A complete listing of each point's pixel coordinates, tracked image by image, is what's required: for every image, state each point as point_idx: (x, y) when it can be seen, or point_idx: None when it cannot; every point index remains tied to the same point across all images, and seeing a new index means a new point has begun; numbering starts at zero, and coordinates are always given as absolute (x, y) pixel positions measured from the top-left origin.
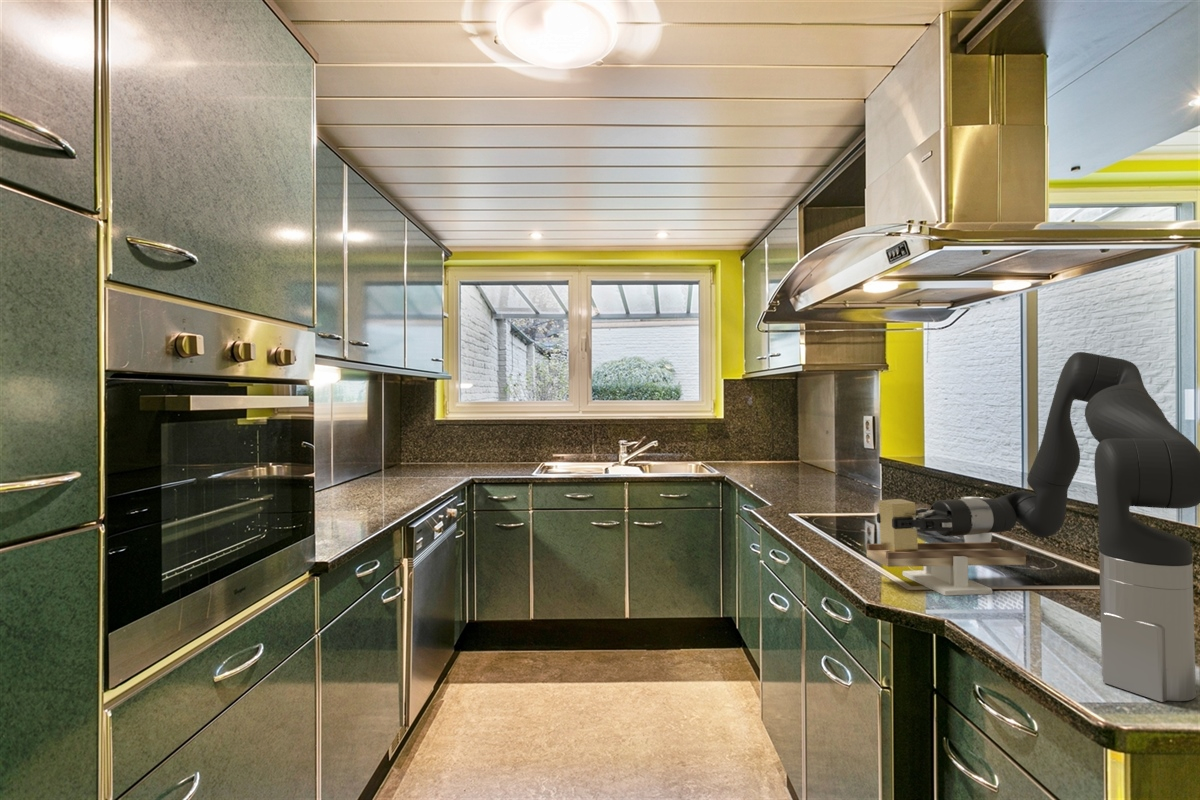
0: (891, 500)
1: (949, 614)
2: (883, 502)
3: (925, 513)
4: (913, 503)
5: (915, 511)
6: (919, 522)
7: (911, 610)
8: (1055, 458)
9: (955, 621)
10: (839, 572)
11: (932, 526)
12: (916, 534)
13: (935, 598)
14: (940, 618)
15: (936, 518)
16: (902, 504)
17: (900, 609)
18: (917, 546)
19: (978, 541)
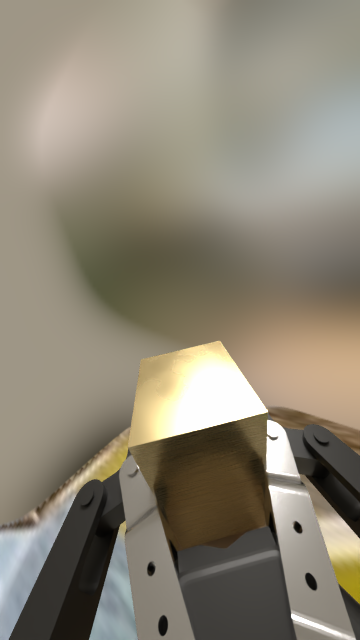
0: (214, 368)
1: (46, 551)
2: (192, 349)
3: (133, 568)
4: (131, 439)
5: (142, 474)
6: (104, 484)
7: (94, 472)
8: None
9: (21, 539)
10: (280, 415)
11: (87, 593)
12: (170, 522)
13: (130, 590)
14: (46, 512)
15: (34, 623)
16: (138, 389)
17: (103, 455)
18: (178, 541)
19: None
